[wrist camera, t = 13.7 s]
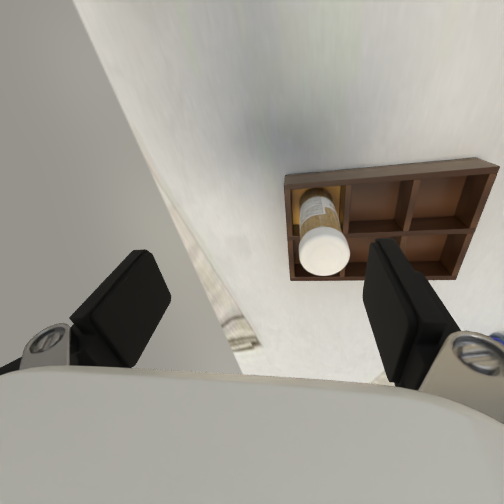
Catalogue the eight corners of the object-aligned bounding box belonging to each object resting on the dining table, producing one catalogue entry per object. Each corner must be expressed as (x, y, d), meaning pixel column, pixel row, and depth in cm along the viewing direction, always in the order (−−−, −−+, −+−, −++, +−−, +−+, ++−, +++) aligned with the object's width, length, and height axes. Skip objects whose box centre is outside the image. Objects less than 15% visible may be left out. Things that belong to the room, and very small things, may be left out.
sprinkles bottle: (336, 211, 34) (356, 270, 23) (304, 222, 35) (308, 282, 24) (327, 180, 32) (343, 229, 21) (293, 193, 33) (291, 245, 22)
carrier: (285, 175, 33) (283, 184, 29) (476, 157, 28) (500, 166, 25) (290, 265, 41) (290, 280, 37) (441, 262, 36) (455, 280, 33)
